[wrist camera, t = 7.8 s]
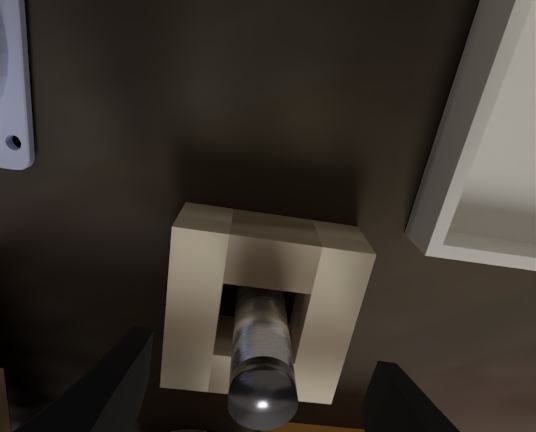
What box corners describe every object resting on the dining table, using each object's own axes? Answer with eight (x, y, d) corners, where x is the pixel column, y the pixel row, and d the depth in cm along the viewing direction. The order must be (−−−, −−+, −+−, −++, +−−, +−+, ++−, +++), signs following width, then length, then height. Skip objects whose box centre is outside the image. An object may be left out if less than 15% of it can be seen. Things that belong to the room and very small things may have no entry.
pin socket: (185, 202, 14) (171, 226, 12) (357, 226, 15) (376, 254, 13) (173, 344, 17) (159, 387, 14) (321, 360, 17) (331, 404, 15)
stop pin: (240, 265, 15) (231, 373, 10) (286, 271, 16) (304, 380, 10) (234, 305, 16) (223, 427, 11) (278, 310, 16) (291, 433, 11)
